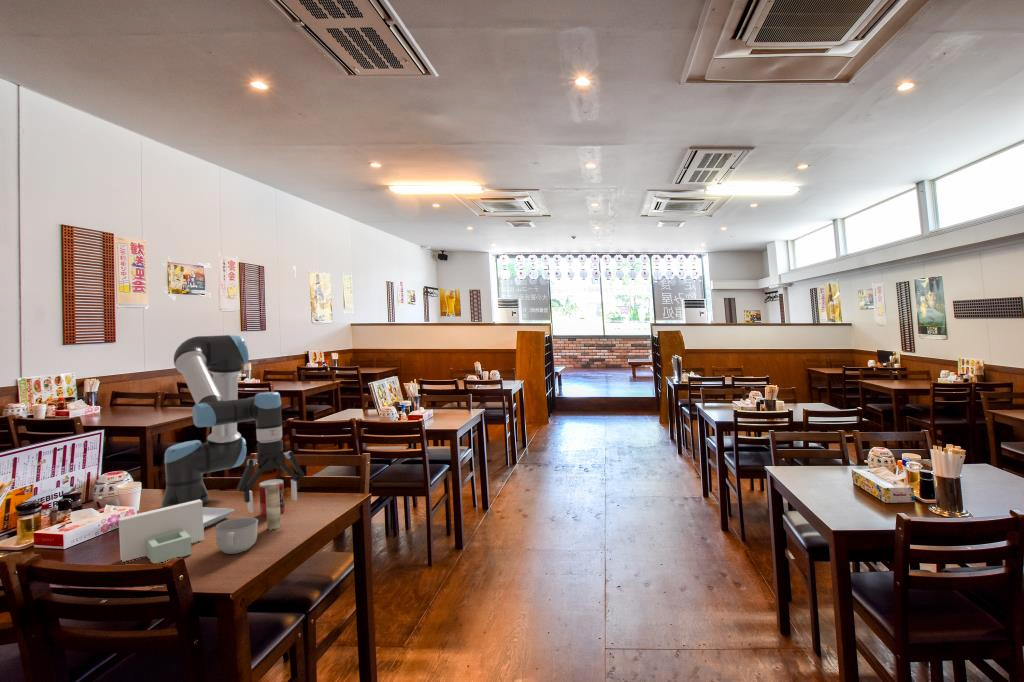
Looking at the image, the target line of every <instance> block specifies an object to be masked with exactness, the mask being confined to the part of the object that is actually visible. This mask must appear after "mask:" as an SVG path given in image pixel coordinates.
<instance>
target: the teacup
mask: <svg viewBox="0 0 1024 682" xmlns="http://www.w3.org/2000/svg"><path fill="white" fill-rule="evenodd" d="M258 523H259V519H258V518H257V517H256V518H255V517H247V516H245V517H243V516H242V517H241V516H240V517H235V518H230V519H226V520H223V521H221V522H220V521H219V523H216V525H215V531H216V532H215V541H216V542H215V544H216V546H217V548H218V549H219V550H220V551H222V552H223V553H224V554H229V555H233V554H240V553H244V552H246V551H247V550H249V549H250V548H251V547H252V546H253V545H254V544H255V543H256V542H257V539H258V538H257V537H258V526H259V524H258ZM243 551H244V552H243Z"/></svg>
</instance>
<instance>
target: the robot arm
mask: <svg viewBox="0 0 1024 682" xmlns="http://www.w3.org/2000/svg"><path fill="white" fill-rule="evenodd" d="M247 346H248V345H247V343H246V341H245V339H244V338H243V337H242V336H240V335H231V334H228V335H227V334H224V335H222V334H221V335H206V336H204V335H196V336H194V337H193V336H192V337H190V338H188V339H186V340H184V341H183V342H181V343H180V344H179V346H178V347H177V348H176V350H175V352H174V355H173V364H174V367H175V369H176V371H178V373H179V374H181V375H182V376H183V379H184V380H185V383H186V385H187V388H188V390H189V392H190V394H191V397H192V398H193V399H192V400H193V401H194V403H195V404H194V405H193V407H192V412H191V413H192V414H191V415H192V421H193V425H194V426H195V427H197V428H206V427H209V428H211V433H210V434H209V435H208V436H207V439H206V440H207V441H206V442H204V443H203V442H201V440H198V439H195V440H188V441H184V442H180V443H177V444H173V445H171V446H169V447H168V448H167V449H165V452H164V461H163V462H164V469H165V470H164V471H165V491H164V494H163V497H162V500H161V507H160V508H165V507H169V506H173V505H177V504H182V503H186V502H190V501H195V500H199V499H200V500H201V501H202V506H204V505H205V503H206V504H208V502H209V501H210V495H209V491H208V490H207V488H206V485H205V483H204V479H203V475H204V474H208V473H213V472H217V471H218V472H219V471H223V470H230V469H233V468H237V467H240V466H241V465H242V464H243V463H244V462H245V459H246V457H247V456H246V455H247V446H246V445H247V442H246V439H245V438H244V437H242V434H241V433H240V432H239V431H238V423H243V422H251V421H255V429H256V430H255V432H256V435H255V436H256V441H257V443H256V447H257V449H256V450H257V457H256V458H248V459H246V465H245V468H244V471H243V473H242V475H241V477H240V480H239V482H238V484H237V486H236V491H238V492H240V493H241V492H242V493H243V501H244V503H246V504H247V512H248V513H250V514H252V513H254V498H253V497H254V496H253V494H254V493H253V491H252V490H251V489H252V488H253V487H254V485H255V484H256V482H257V481H258V480H259V478H260V477H261V475H262V474H263V473H264V472H265V471H270V470H273V469H274V470H276V469H278V468H280V469H282V470H283V471H284V472H285V473H286V474H287V475H289V476H290V477H291V478H292V479H290V487H291V488H290V489H291V491H290V492H291V500H292V501H294V502H297V501H298V490H300V480H301V479H302V478H304V477H305V472H304V471H303V469H302V467H301V466H300V464H299V463H298V461H297V459H296V458H295V454H294V451H293V450H288V451H286V452H284V440H283V439H282V438H283V423H282V421H283V419H282V400H281V394H280V392H278V391H265V392H258V393H256V394H255V395H254V396H250V397H247V398H239V397H238V395H239V392H238V390H239V388H238V386H239V374H240V373H241V372H242V371H243V370H244V369H243V367H244V366H245V365H248V363H249V358H250V357H249V356H250V355H249V349H248V347H247ZM285 458H286V459H288V461H289V462H290V464H291V466H292V467H293V469H294V470H295V472H294V471H293V470H291V468H289V466H287V465H286V463H284V462H283V461H284V459H285ZM256 463H257V464H258V466H257V467H256V470H255V471H254V473H253V474H252V471H253V468H254V466H256ZM251 474H252V475H251ZM250 475H251V476H250ZM249 477H250V478H249Z"/></svg>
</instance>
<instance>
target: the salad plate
mask: <svg viewBox="0 0 1024 682" xmlns="http://www.w3.org/2000/svg"><path fill="white" fill-rule="evenodd" d="M234 511H235V509H234V508H223V507H207V506H205V507H203V526H204V529H205V527H206V528H207V527H209V526H212V525H214V524H217V523H218V522H220V521H222V520H224V519H226V518H227V517H229V516H231V514H233V512H234Z"/></svg>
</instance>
